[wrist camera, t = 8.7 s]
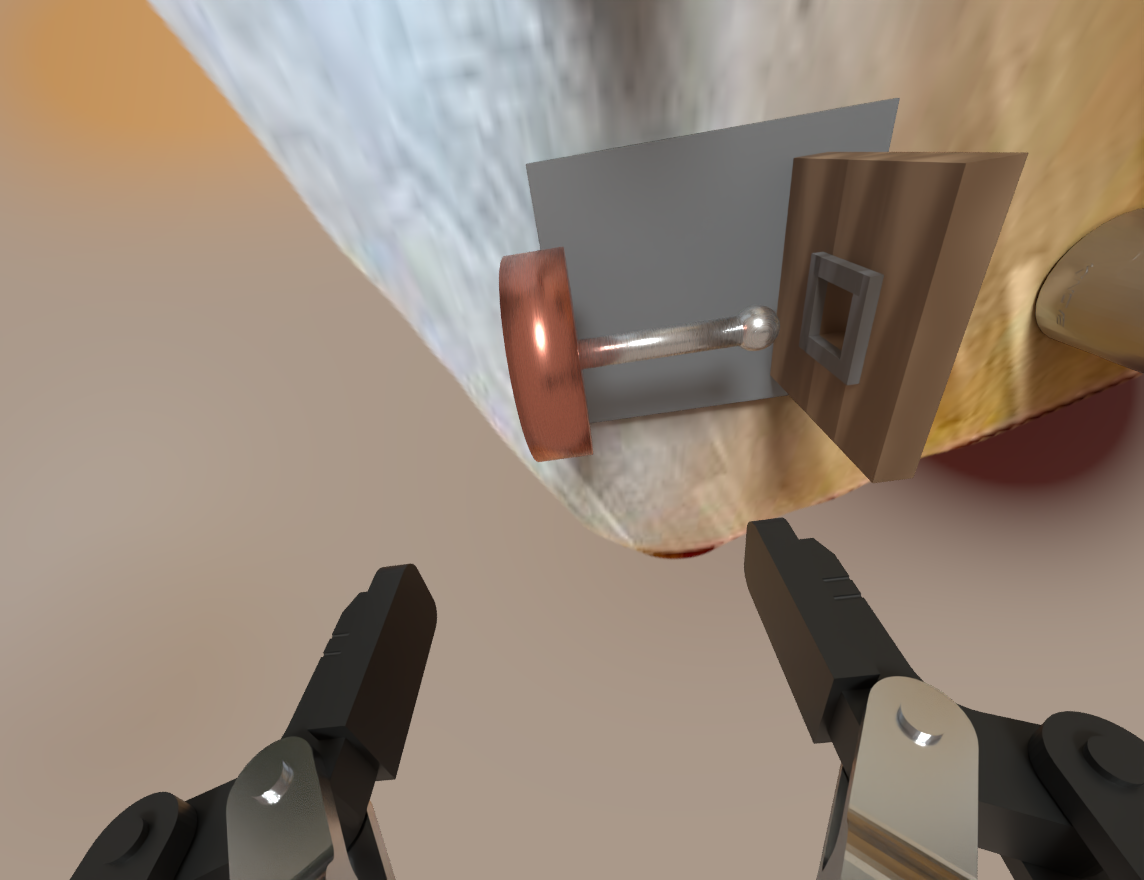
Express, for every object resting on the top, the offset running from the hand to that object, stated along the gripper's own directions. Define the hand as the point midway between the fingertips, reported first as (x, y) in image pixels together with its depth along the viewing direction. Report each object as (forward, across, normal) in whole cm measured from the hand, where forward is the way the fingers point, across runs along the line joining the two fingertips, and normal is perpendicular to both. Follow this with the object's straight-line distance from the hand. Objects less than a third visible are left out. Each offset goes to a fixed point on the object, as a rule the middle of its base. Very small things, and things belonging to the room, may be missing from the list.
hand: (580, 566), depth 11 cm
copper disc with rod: (+21, -4, +1) cm, 21 cm away
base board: (+24, -9, +1) cm, 26 cm away
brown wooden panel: (+23, -15, +1) cm, 27 cm away
